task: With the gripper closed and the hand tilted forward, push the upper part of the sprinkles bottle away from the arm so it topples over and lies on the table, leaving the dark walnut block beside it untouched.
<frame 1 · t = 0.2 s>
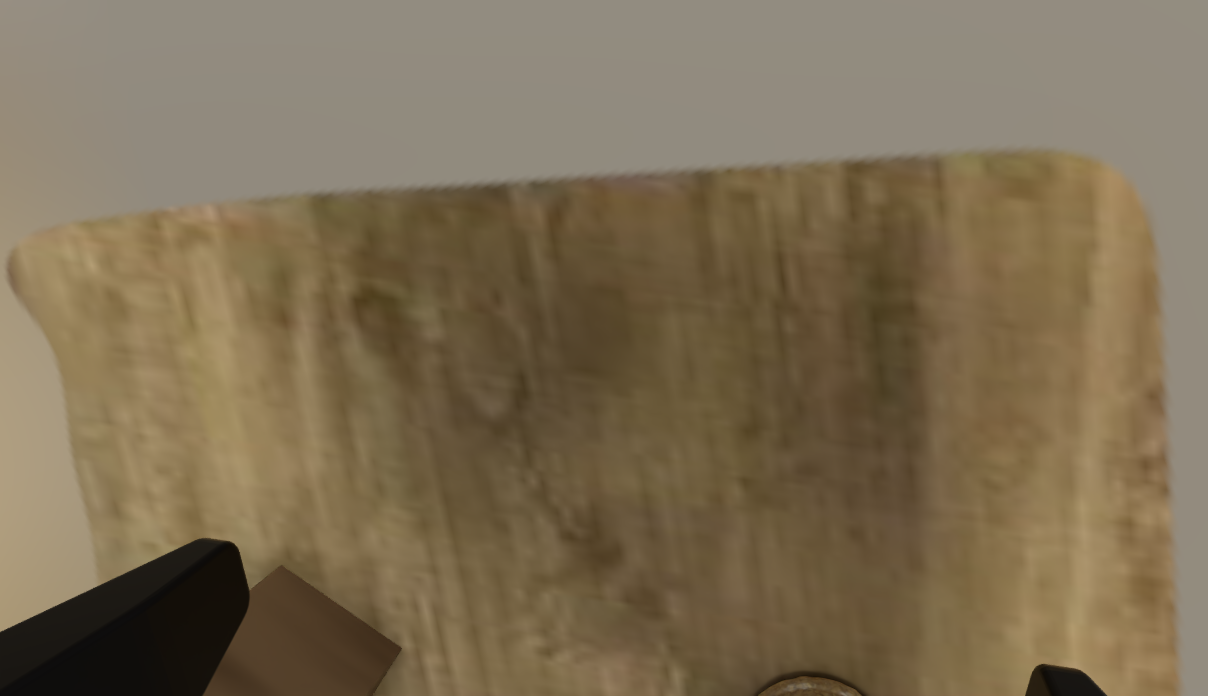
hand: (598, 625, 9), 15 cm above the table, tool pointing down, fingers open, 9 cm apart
walnut block: (310, 658, 29), on the table
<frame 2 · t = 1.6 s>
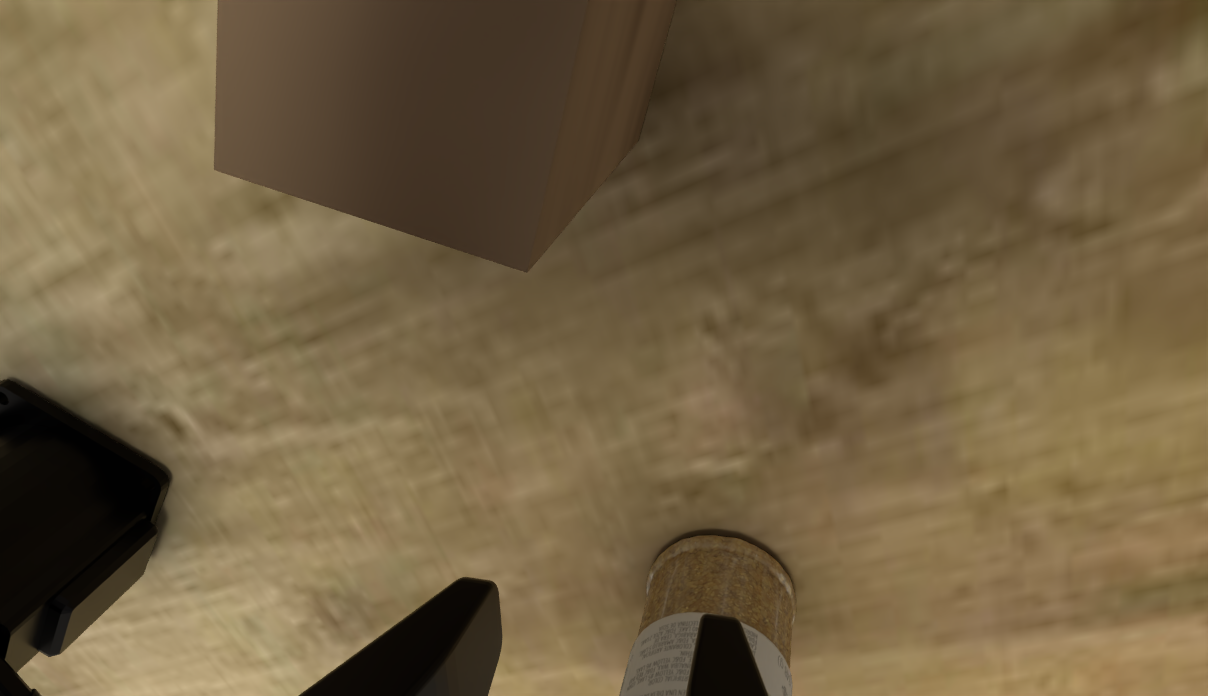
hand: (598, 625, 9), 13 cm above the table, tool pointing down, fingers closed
sprinkles bottle: (721, 582, 26), on the table
walnut block: (563, 1, 19), on the table
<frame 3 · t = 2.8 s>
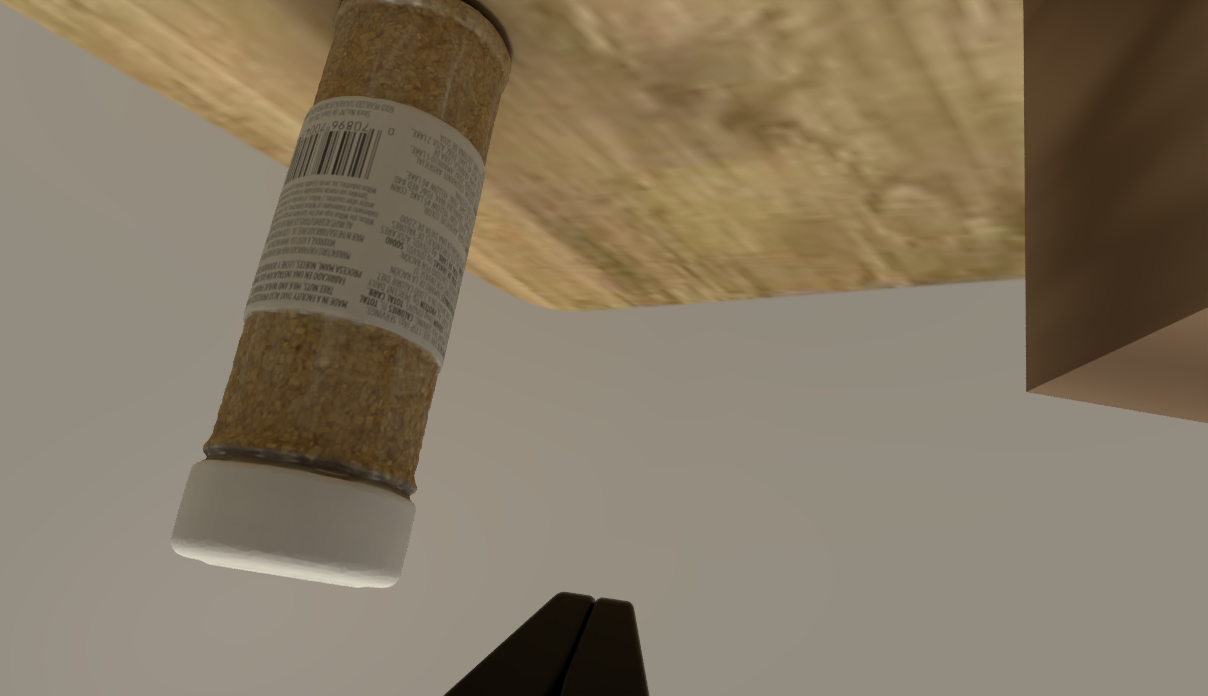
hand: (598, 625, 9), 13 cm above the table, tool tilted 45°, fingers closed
sprinkles bottle: (430, 31, 21), on the table
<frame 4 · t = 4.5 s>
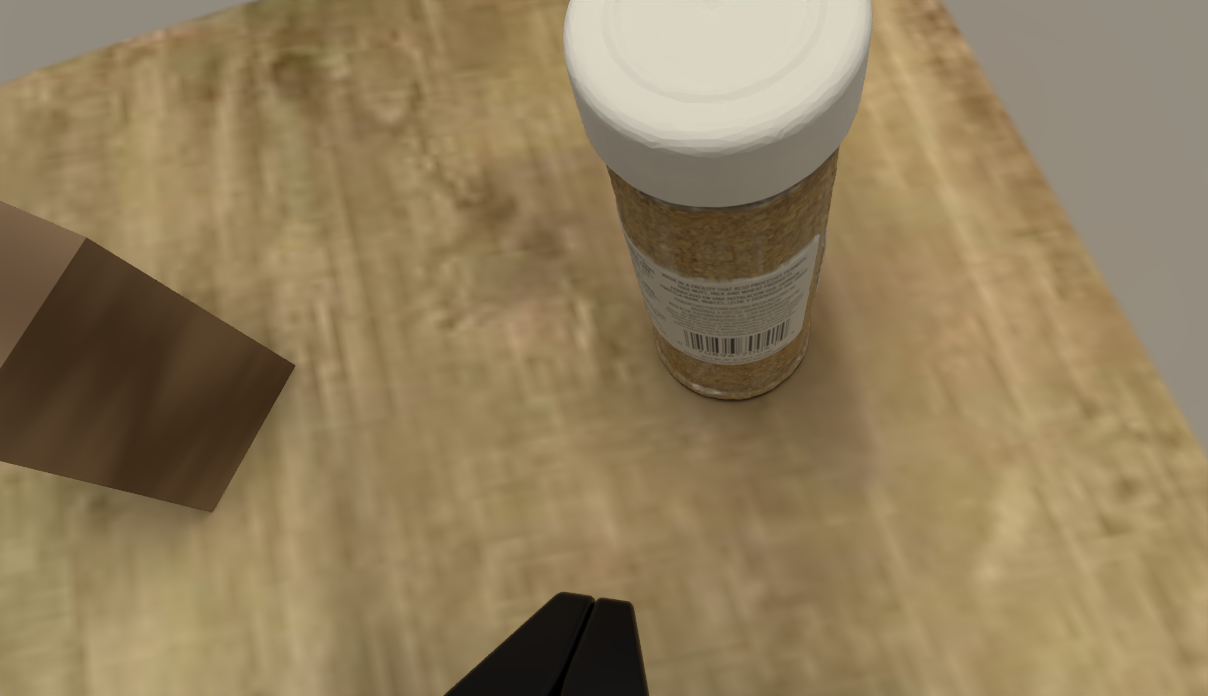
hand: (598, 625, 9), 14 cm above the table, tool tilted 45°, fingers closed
sprinkles bottle: (729, 332, 25), on the table
walnut block: (192, 407, 27), on the table
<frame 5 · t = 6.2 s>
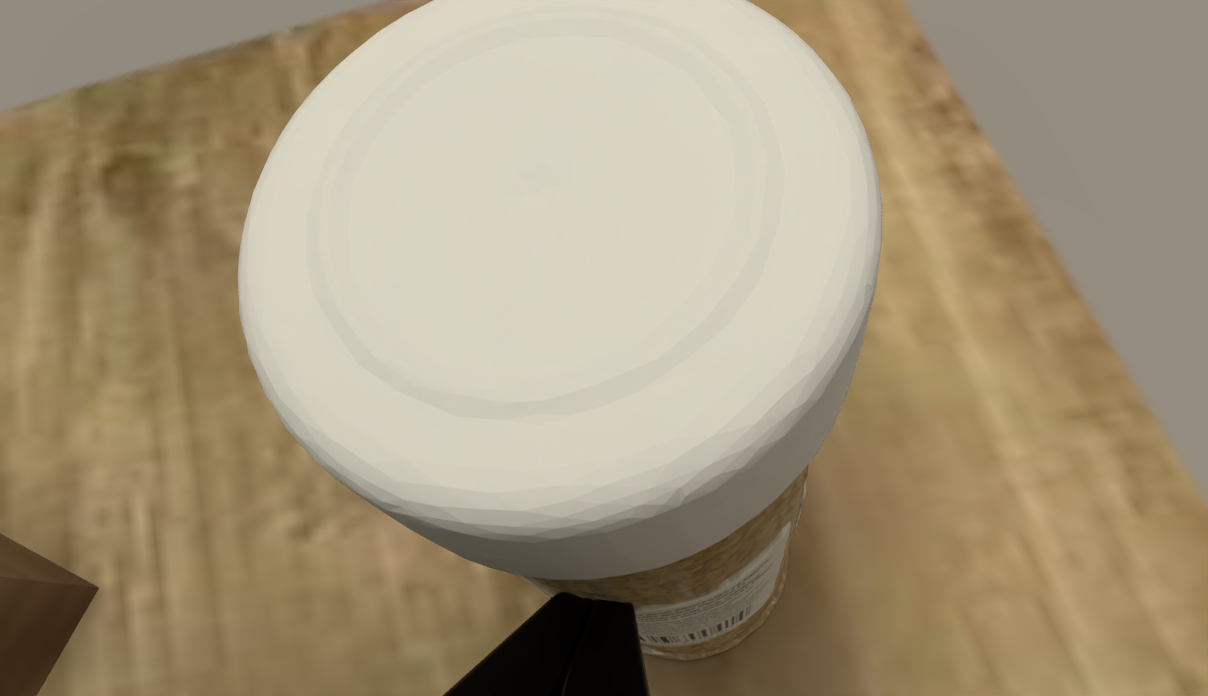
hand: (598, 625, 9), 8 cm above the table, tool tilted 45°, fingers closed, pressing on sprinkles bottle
sprinkles bottle: (677, 551, 18), on the table, touching gripper
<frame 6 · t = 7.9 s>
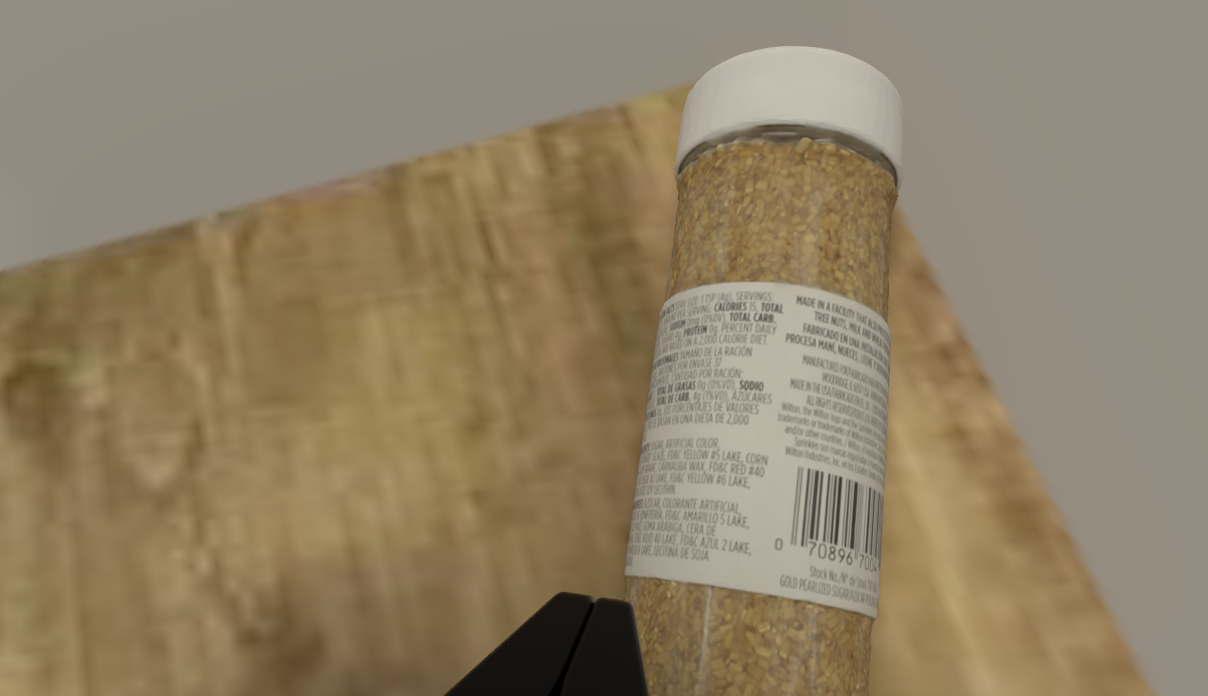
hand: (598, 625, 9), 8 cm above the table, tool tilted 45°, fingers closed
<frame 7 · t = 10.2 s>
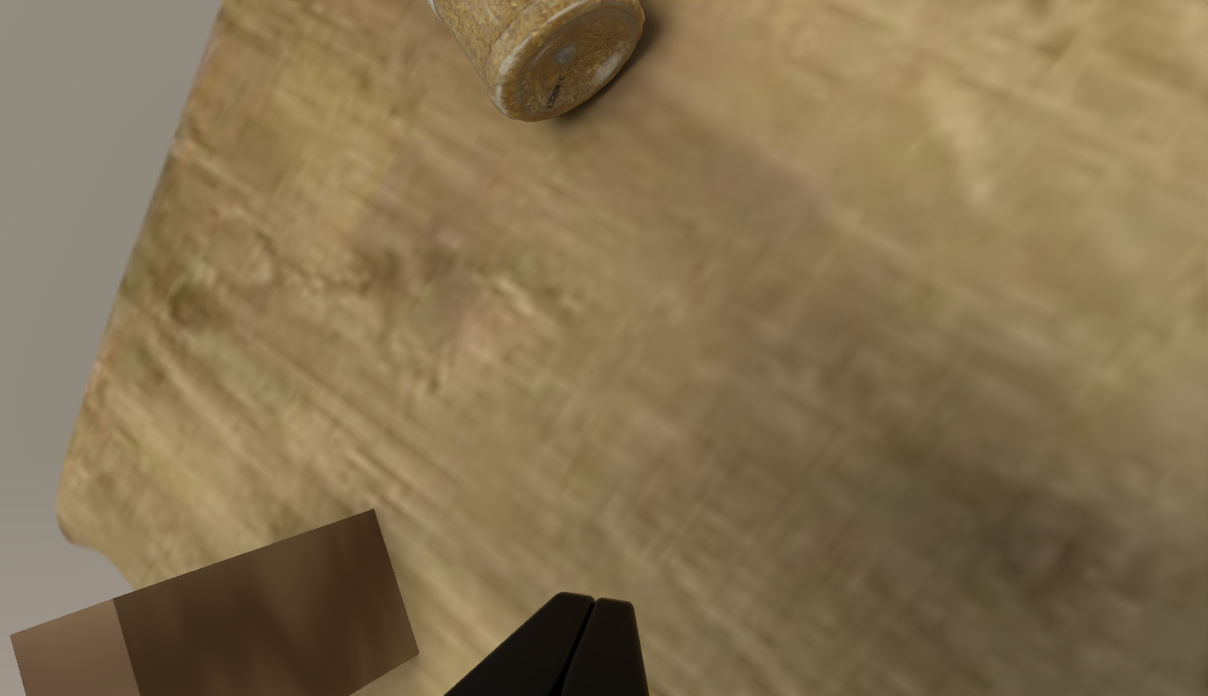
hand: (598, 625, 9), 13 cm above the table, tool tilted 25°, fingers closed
sprinkles bottle: (577, 73, 21), point 2 cm above the table
walnut block: (345, 595, 29), on the table
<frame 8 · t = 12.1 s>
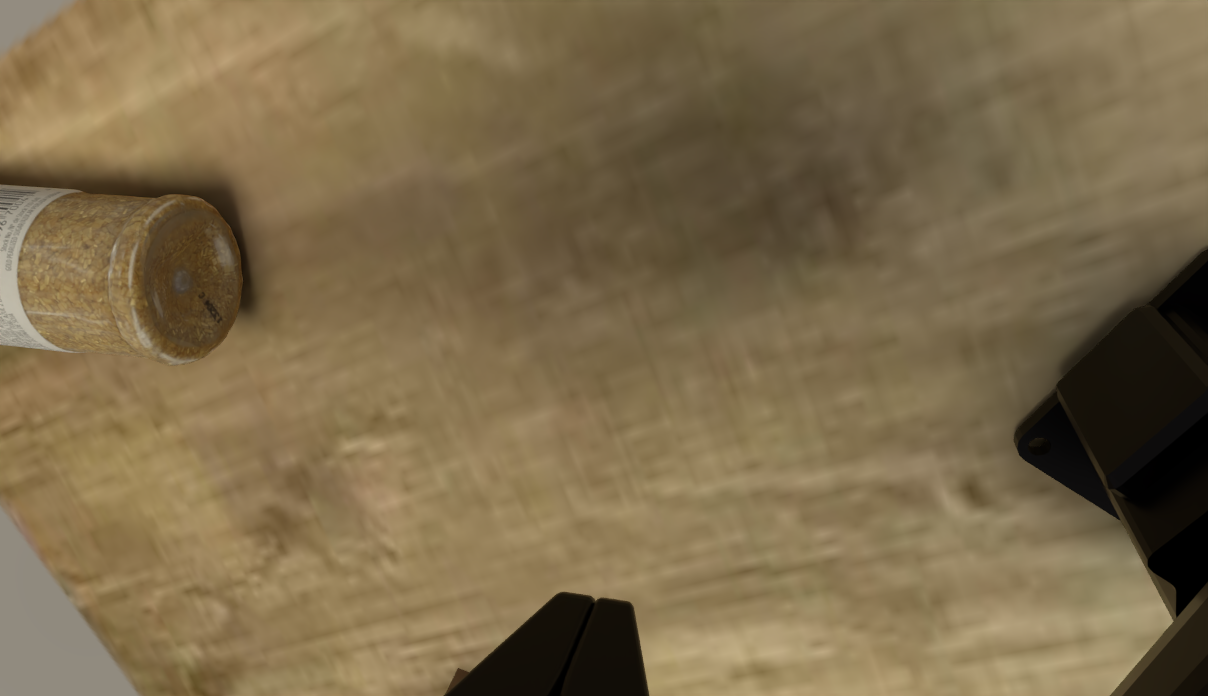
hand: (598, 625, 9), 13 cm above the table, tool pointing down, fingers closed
sprinkles bottle: (202, 283, 22), point 2 cm above the table
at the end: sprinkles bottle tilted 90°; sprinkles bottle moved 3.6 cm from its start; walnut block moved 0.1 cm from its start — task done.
